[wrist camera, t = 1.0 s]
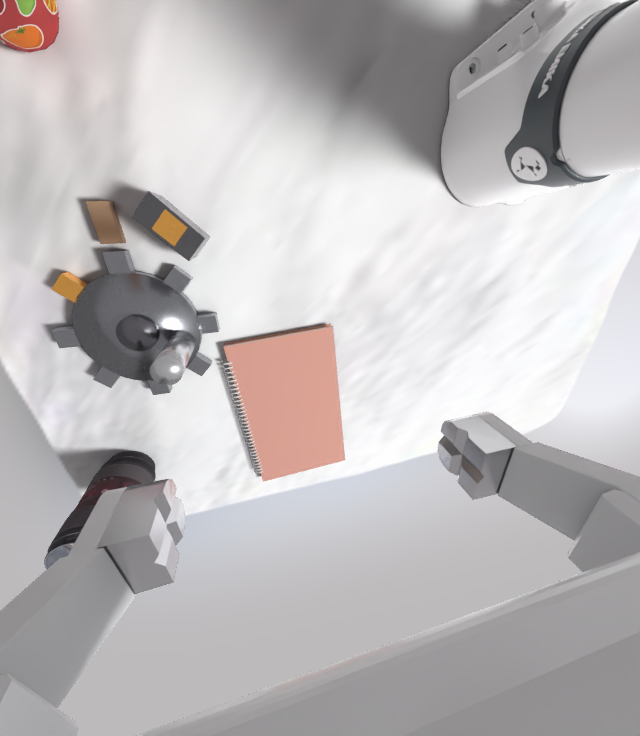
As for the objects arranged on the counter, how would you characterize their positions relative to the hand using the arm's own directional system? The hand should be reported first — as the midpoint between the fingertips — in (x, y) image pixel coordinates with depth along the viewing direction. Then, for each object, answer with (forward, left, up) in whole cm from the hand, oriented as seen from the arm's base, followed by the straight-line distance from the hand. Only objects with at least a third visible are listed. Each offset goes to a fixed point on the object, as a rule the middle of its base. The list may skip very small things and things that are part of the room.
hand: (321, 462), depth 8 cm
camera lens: (+37, +2, -33) cm, 50 cm away
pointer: (+6, -16, -33) cm, 37 cm away
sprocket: (+15, -8, -33) cm, 37 cm away
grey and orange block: (+2, -11, -33) cm, 35 cm away
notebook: (+14, +16, -34) cm, 40 cm away
